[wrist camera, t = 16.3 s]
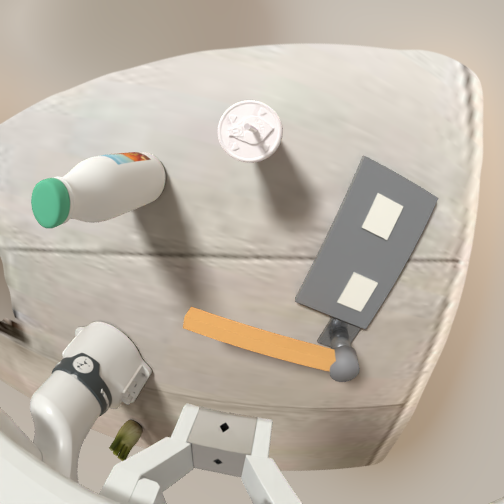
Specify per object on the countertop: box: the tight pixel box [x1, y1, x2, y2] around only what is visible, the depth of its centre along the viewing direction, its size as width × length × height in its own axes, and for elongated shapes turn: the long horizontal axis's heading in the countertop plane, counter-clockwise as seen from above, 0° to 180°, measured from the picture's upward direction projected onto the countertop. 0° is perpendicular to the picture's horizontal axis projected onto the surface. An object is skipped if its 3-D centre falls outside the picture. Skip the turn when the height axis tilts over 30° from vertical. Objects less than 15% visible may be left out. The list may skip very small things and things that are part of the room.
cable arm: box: [183, 307, 359, 382], centre depth 37 cm, size 24×4×3 cm, turn 75°
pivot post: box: [317, 316, 361, 349], centre depth 41 cm, size 5×5×6 cm
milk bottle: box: [31, 152, 166, 228], centre depth 30 cm, size 8×8×20 cm
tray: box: [295, 156, 438, 329], centre depth 37 cm, size 22×12×2 cm, turn 159°
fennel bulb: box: [109, 420, 142, 461], centre depth 56 cm, size 6×5×12 cm
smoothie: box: [218, 100, 283, 163], centre depth 29 cm, size 6×6×14 cm
